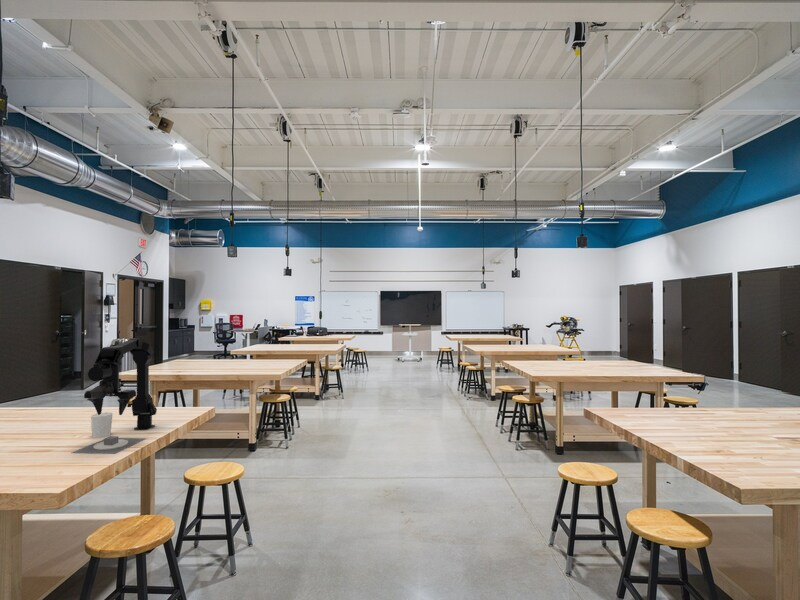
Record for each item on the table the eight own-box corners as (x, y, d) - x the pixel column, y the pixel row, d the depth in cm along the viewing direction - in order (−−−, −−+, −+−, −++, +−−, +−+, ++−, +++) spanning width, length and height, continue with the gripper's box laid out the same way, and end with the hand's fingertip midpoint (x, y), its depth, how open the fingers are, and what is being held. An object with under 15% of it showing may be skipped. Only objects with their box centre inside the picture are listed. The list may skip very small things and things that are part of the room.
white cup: (87, 440, 185) (87, 417, 185) (95, 434, 193) (95, 412, 193) (108, 438, 187) (108, 415, 188) (114, 433, 195) (115, 411, 195)
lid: (107, 440, 183) (107, 433, 183) (134, 441, 182) (134, 433, 182) (85, 449, 171) (86, 441, 171) (114, 450, 170) (115, 442, 170)
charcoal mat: (107, 438, 187) (107, 437, 187) (147, 439, 186) (147, 438, 186) (70, 454, 167) (70, 452, 167) (115, 455, 166) (115, 453, 166)
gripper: (73, 380, 170) (72, 419, 169) (118, 380, 169) (117, 420, 168) (94, 375, 181) (94, 412, 180) (137, 376, 180) (136, 413, 179)
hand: (110, 414), depth 177 cm, fingers open, 9 cm apart
